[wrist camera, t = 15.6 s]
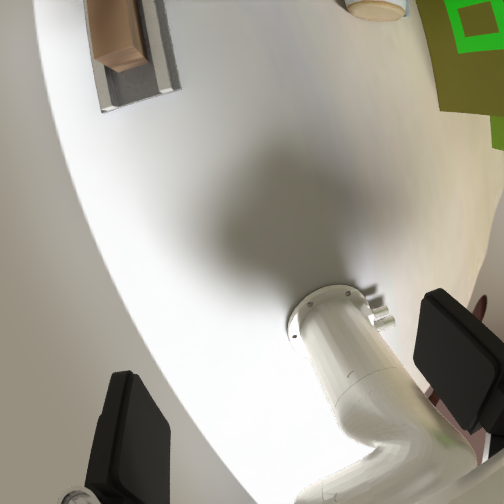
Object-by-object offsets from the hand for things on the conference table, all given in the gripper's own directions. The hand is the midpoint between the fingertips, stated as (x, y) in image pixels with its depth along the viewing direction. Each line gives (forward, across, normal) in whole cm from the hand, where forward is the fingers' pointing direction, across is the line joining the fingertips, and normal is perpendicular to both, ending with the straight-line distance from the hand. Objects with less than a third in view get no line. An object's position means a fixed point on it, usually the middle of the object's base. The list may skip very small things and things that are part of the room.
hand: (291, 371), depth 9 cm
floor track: (+28, +7, -22) cm, 37 cm away
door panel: (+27, +7, -22) cm, 36 cm away
